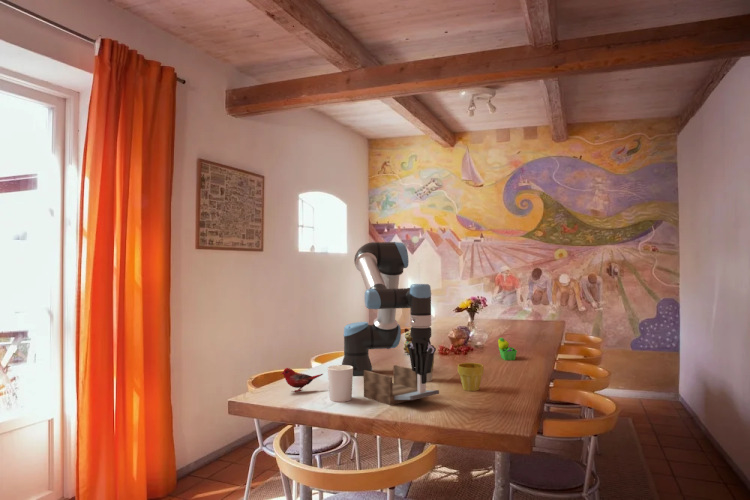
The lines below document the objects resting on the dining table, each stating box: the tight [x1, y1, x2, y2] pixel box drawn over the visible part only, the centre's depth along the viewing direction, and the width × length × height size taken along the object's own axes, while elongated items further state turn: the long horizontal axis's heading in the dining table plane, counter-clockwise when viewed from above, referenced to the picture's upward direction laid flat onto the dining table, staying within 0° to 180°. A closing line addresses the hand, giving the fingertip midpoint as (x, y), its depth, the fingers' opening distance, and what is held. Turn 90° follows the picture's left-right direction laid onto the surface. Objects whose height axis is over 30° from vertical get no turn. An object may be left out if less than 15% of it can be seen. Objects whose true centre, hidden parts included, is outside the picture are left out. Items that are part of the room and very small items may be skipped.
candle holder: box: [327, 364, 354, 403], centre depth 197 cm, size 10×10×12 cm
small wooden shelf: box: [363, 364, 417, 406], centre depth 198 cm, size 16×16×10 cm
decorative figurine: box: [402, 327, 412, 356], centre depth 291 cm, size 10×8×15 cm
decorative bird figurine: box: [280, 367, 324, 393], centre depth 209 cm, size 3×18×10 cm, turn 113°
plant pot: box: [457, 362, 485, 392], centre depth 210 cm, size 10×10×10 cm
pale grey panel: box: [394, 389, 440, 401], centre depth 188 cm, size 1×13×10 cm
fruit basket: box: [497, 337, 518, 361], centre depth 275 cm, size 11×9×11 cm
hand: (421, 392), depth 186 cm, fingers closed
